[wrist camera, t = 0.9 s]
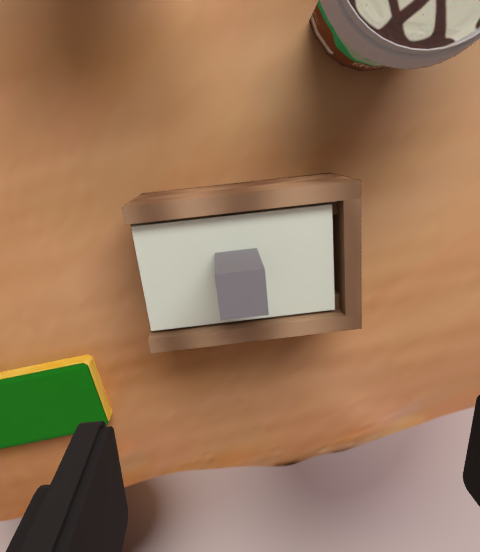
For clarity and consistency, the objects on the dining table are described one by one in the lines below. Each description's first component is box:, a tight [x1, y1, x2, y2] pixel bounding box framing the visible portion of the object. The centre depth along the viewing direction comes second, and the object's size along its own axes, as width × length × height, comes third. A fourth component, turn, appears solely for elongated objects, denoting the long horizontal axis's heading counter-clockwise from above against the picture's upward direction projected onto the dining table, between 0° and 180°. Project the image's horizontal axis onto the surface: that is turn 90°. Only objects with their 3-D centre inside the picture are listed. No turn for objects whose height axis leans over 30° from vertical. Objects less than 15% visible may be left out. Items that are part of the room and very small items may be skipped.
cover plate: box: [131, 203, 335, 331], centre depth 26 cm, size 14×8×6 cm, turn 96°
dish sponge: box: [0, 355, 112, 449], centre depth 38 cm, size 7×14×2 cm, turn 101°
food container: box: [309, 0, 480, 70], centre depth 26 cm, size 12×6×10 cm, turn 110°
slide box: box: [122, 173, 362, 353], centre depth 31 cm, size 16×11×8 cm
